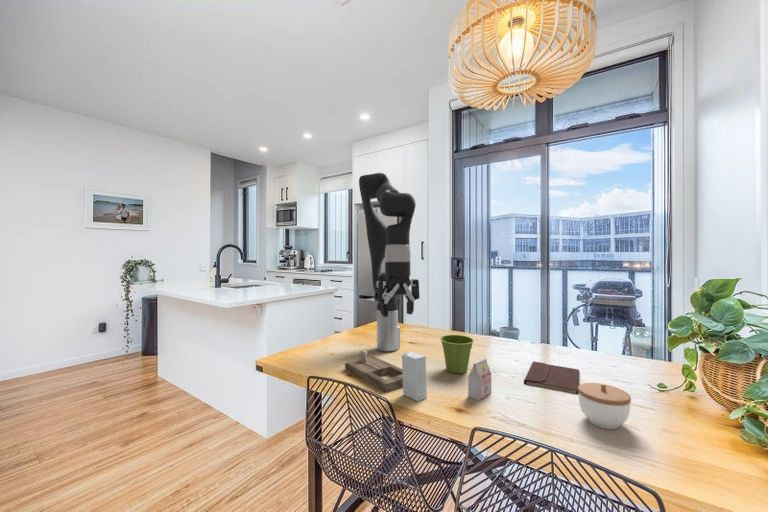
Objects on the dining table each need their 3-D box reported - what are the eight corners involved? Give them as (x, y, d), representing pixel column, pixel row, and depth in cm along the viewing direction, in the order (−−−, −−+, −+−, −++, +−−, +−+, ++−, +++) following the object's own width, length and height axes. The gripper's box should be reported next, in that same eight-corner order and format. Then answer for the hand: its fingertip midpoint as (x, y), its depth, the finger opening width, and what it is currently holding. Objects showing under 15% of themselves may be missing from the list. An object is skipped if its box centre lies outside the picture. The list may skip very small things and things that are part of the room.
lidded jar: (608, 411, 85) (608, 375, 85) (642, 434, 74) (642, 393, 74) (568, 412, 85) (568, 376, 84) (597, 435, 74) (597, 394, 74)
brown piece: (372, 362, 123) (372, 346, 123) (415, 382, 104) (415, 364, 104) (345, 369, 116) (345, 352, 116) (386, 392, 97) (385, 372, 97)
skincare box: (427, 397, 93) (427, 355, 93) (416, 402, 90) (416, 359, 90) (412, 390, 98) (412, 350, 98) (401, 394, 95) (401, 353, 95)
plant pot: (435, 373, 112) (435, 340, 112) (445, 362, 123) (445, 333, 122) (469, 379, 107) (469, 345, 106) (477, 367, 117) (477, 336, 117)
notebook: (579, 374, 112) (579, 368, 112) (578, 395, 95) (578, 388, 95) (532, 366, 120) (532, 360, 120) (523, 384, 103) (523, 378, 103)
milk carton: (468, 396, 94) (468, 362, 94) (479, 389, 99) (479, 356, 99) (479, 400, 91) (479, 365, 91) (491, 393, 96) (491, 359, 96)
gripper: (410, 260, 102) (410, 311, 102) (370, 260, 95) (370, 315, 95) (424, 260, 96) (424, 315, 96) (383, 260, 88) (383, 319, 88)
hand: (397, 315), depth 95 cm, fingers open, 8 cm apart
